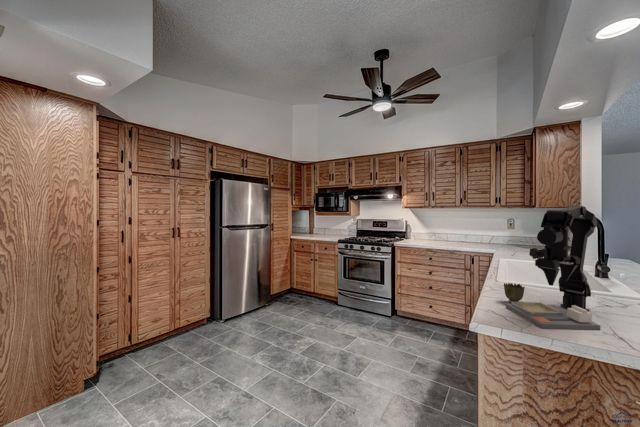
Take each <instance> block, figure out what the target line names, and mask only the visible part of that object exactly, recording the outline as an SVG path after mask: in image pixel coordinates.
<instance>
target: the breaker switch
mask: <svg viewBox="0 0 640 427" xmlns="http://www.w3.org/2000/svg"><path fill="white" fill-rule="evenodd" d="M566 310H567V317H569V318H571V319H573V320H576V321H578V322H587V323H592V322H593V321H592V320H593V318H592V317H593V315H592V314H593V313H592V312H590V311H588V310H585V309H583V308H580V307H578V306H575V305H572V308H566Z"/></svg>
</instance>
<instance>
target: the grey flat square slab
mask: <svg viewBox="0 0 640 427" xmlns="http://www.w3.org/2000/svg"><path fill="white" fill-rule="evenodd" d="M505 304H506V305H505V307H506V309H508V310H509V311H512V312H513V313H515V314H517V315H518V316H520V317H522V318H523V319H525V320H527V321H528V322H530V323H532V324H534V325H536V327H539V328H540V329H547V330H548V329H550V330H551V329H552V330H553V329H554V330H555V329H556V330H590V331H591V330H592V331H593V330H596V331H600V330H601V325H600V324H598V323H596V322H594V321H592V323H587V322H578V321H576V320H573V319H571V318H569V317H567V309H564V308H562V307H560V306H558V305H556V304H547V305H548V306H550V307H552V308H555V309H557V310H559V311H561V312H563V313H564V316H532V315H530V314H528V313H526V312H524V311H522V310H520V309H519V308H517V307H515V306H513V305H511V304H512V303H505Z"/></svg>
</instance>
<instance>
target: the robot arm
mask: <svg viewBox="0 0 640 427" xmlns="http://www.w3.org/2000/svg"><path fill="white" fill-rule="evenodd" d="M597 226H598V220H597V218H596V215H595V213H593V212H591V211H590V210H588V209H587V207H585V206H583V205H570V206H568V207H566V208H563V209H562V208H561V209H548V210H546V212H544V215H543V218H542V220H541V224H540V228H542V229H541V230H539V231H538V233H537V235H536V239H537V241H538V242H539V243H540V244H541V245H544V248H541V249H538V248H537V247H533V248H530V249H529V253H528V254H529V256H530V257H532V259H533V260H535V261H534V266H536V267H537V268H539V269H540V270H541V271H543V273H544V276H545V277H546V281H547V283H548V285H549V286H554V284H555V282H556V279H557V276H558V275H559V273H560V277H559V278H558V289H559V292H560V293H563V296H562V303H560V306H562V307H564V308H566V309H567V308H572V305H575V306H578V307H580V308H583V309H585V310H588V312H590V309H589V308H586V307H587V297H589V298H590V297H592V289H591V287H590V285H589V282H588V277H587V275H585V273H584V265H585V258H586V257H585V256H586V251H587V245H588V238H589V237H590V236H592V234H594V232H595V230H596V229H595V228H597ZM569 230H570V232H571V234H572V239H571V244H570V245H569ZM569 250H570V251H569Z"/></svg>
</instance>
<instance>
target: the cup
mask: <svg viewBox="0 0 640 427" xmlns="http://www.w3.org/2000/svg"><path fill="white" fill-rule="evenodd" d="M503 289H504V295H505V297H506V298H507V299H508V302H509V304H512V302H520V301H521V300H522V299H523V297H524V293H525V286H523V285H522V284H520V283H518V284H517V283H514V284H513V283H512V282H508V283H507V282H506V283H505V282H504V283H503Z"/></svg>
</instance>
